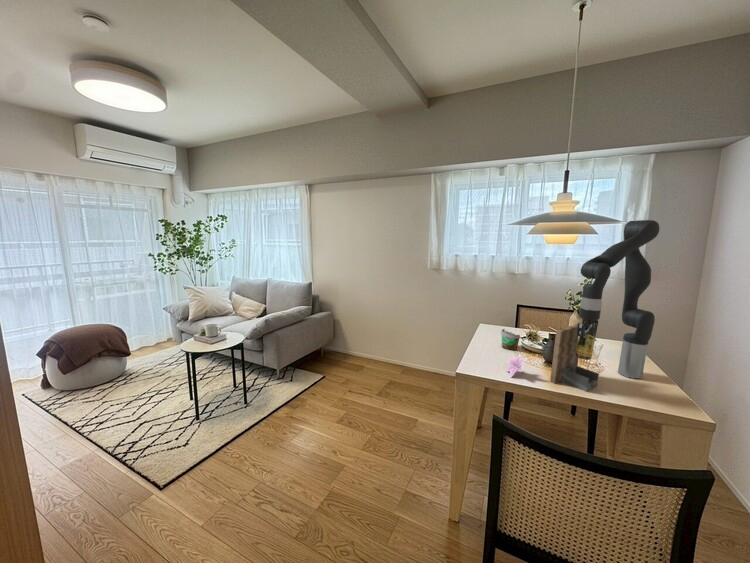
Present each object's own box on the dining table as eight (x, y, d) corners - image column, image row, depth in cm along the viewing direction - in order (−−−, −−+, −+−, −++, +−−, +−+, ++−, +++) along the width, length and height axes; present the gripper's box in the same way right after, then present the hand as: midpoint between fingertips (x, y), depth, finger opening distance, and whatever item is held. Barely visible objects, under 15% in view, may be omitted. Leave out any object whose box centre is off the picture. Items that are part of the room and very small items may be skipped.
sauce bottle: (573, 357, 136) (578, 315, 132) (576, 353, 140) (582, 312, 137) (590, 362, 131) (596, 318, 128) (593, 357, 135) (599, 315, 132)
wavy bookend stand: (572, 372, 150) (578, 324, 145) (602, 383, 139) (609, 331, 135) (550, 381, 139) (556, 330, 135) (580, 394, 128) (588, 339, 124)
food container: (494, 345, 184) (496, 329, 182) (502, 344, 186) (503, 328, 184) (511, 352, 173) (513, 336, 171) (519, 351, 175) (520, 335, 173)
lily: (508, 368, 155) (501, 353, 153) (533, 365, 149) (526, 349, 146) (508, 385, 145) (500, 369, 143) (534, 382, 139) (527, 366, 137)
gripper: (588, 304, 139) (583, 338, 141) (572, 307, 131) (568, 344, 134) (607, 307, 132) (602, 343, 135) (592, 311, 125) (587, 349, 128)
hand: (585, 343), depth 134 cm, fingers closed on sauce bottle, 6 cm apart
